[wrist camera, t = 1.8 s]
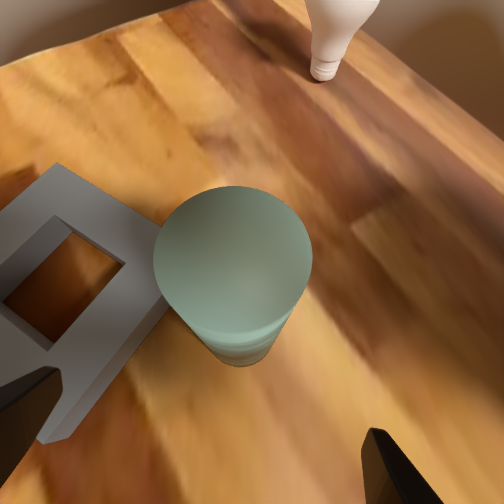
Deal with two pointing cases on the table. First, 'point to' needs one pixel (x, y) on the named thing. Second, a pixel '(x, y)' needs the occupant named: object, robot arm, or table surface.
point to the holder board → (100, 309)
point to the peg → (233, 269)
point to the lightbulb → (334, 31)
